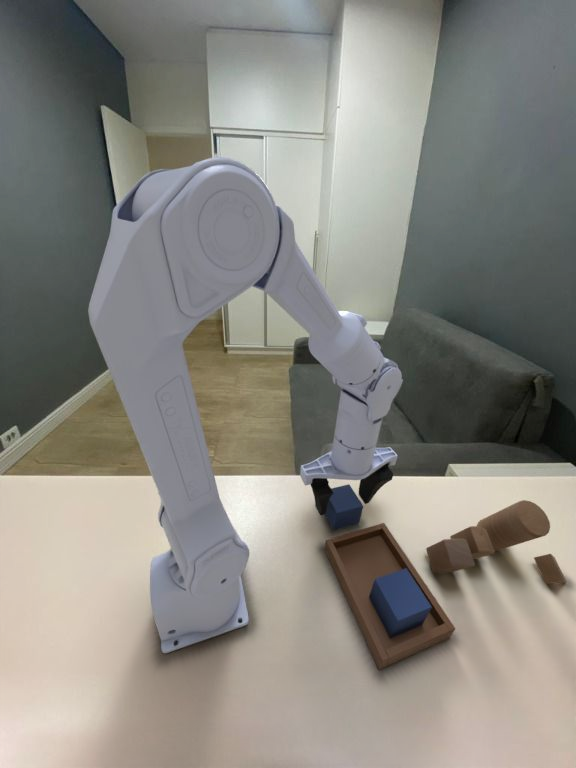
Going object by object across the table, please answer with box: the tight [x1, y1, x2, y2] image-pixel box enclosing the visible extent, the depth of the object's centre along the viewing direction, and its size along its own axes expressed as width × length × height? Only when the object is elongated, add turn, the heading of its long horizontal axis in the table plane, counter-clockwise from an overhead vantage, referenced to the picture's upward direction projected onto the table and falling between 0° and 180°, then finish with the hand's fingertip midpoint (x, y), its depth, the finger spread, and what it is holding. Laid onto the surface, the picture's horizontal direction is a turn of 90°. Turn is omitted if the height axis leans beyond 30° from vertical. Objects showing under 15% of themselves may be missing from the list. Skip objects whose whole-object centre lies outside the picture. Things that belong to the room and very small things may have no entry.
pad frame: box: [323, 522, 456, 670], centre depth 39 cm, size 10×14×2 cm
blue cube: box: [369, 568, 432, 638], centre depth 36 cm, size 4×4×4 cm
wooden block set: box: [425, 499, 567, 584], centre depth 41 cm, size 18×9×10 cm, turn 93°
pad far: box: [324, 484, 364, 531], centre depth 48 cm, size 4×4×4 cm
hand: (342, 504), depth 48 cm, fingers open, 7 cm apart
